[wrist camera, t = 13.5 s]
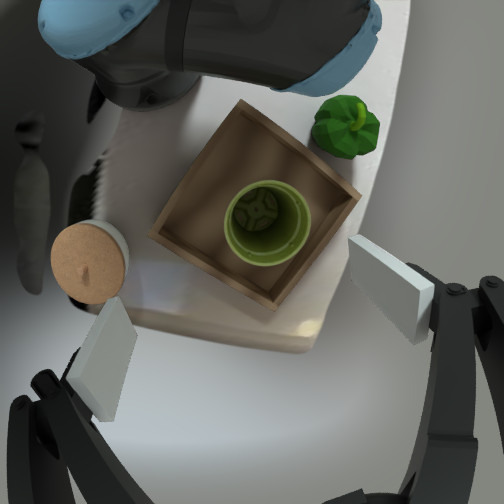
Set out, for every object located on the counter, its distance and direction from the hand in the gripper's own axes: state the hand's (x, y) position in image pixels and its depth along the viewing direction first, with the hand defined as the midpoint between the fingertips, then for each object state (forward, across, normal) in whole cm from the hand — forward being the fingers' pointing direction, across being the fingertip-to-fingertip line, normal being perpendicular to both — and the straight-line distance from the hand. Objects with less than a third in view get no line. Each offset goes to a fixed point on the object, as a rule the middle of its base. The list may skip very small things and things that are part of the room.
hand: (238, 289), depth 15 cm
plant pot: (+24, +4, -2) cm, 25 cm away
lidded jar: (+26, -18, -2) cm, 32 cm away
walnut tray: (+26, +4, -2) cm, 26 cm away
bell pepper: (+26, +18, +7) cm, 32 cm away
